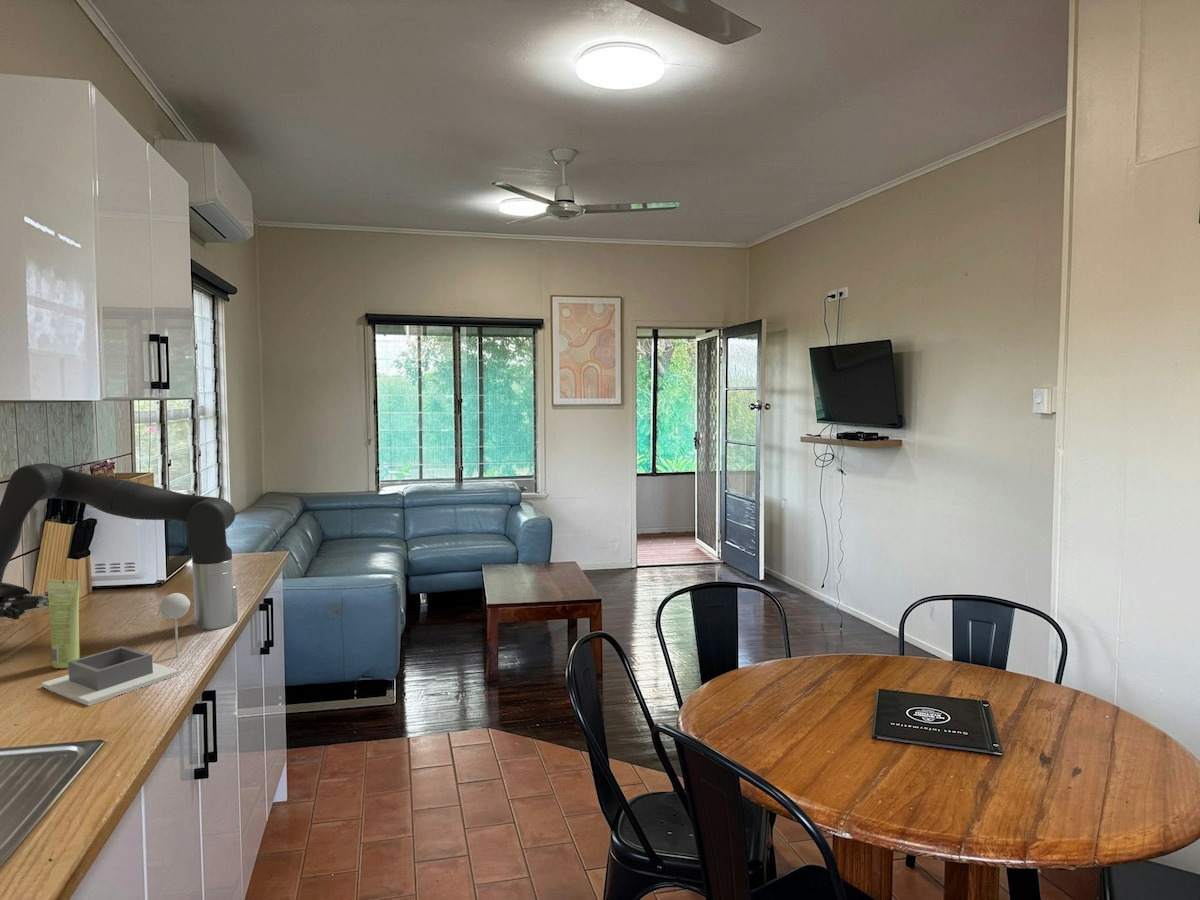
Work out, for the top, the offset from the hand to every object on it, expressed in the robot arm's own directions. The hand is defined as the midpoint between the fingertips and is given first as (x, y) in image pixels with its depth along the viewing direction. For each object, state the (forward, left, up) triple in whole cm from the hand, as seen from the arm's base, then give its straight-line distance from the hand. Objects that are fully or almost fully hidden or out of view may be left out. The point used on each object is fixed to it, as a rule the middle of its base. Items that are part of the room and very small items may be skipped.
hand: (39, 609), depth 170 cm
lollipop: (-15, +27, -11) cm, 33 cm away
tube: (0, +11, -11) cm, 16 cm away
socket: (0, +29, -11) cm, 31 cm away
